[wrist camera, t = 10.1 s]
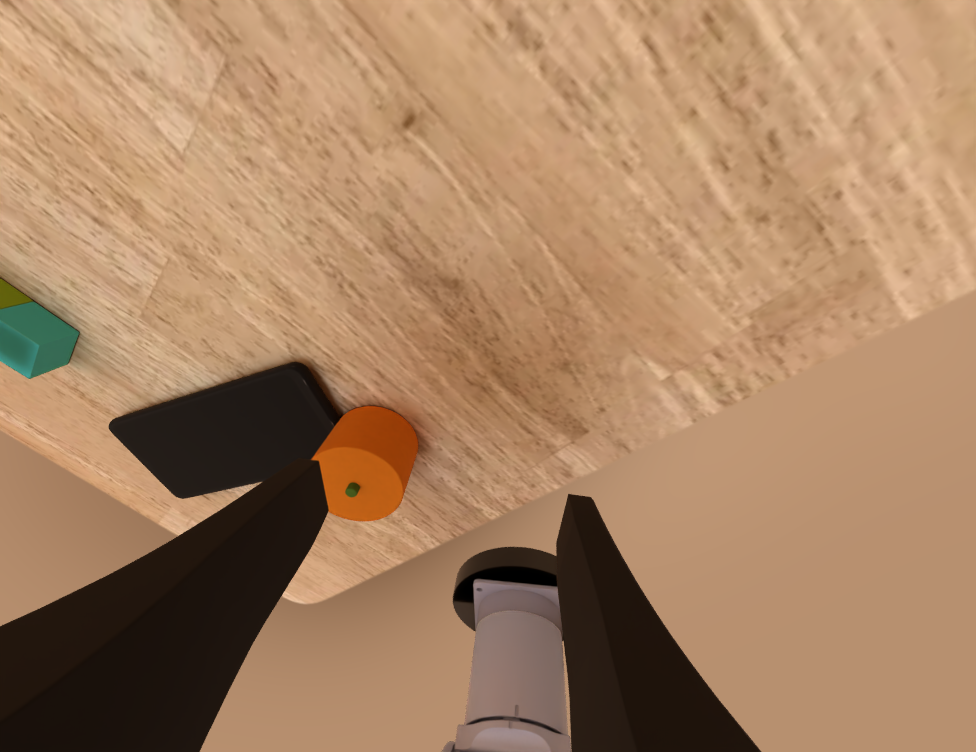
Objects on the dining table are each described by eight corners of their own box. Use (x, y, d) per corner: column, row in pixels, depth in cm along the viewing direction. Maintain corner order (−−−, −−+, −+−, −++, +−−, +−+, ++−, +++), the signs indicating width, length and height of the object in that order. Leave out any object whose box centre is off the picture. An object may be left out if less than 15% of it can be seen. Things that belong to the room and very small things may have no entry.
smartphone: (360, 461, 22) (178, 501, 25) (365, 452, 22) (188, 492, 26) (295, 363, 19) (101, 424, 22) (304, 356, 20) (114, 416, 23)
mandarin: (422, 473, 23) (406, 529, 19) (343, 472, 23) (312, 527, 19) (414, 405, 21) (394, 453, 17) (327, 405, 21) (288, 452, 17)
